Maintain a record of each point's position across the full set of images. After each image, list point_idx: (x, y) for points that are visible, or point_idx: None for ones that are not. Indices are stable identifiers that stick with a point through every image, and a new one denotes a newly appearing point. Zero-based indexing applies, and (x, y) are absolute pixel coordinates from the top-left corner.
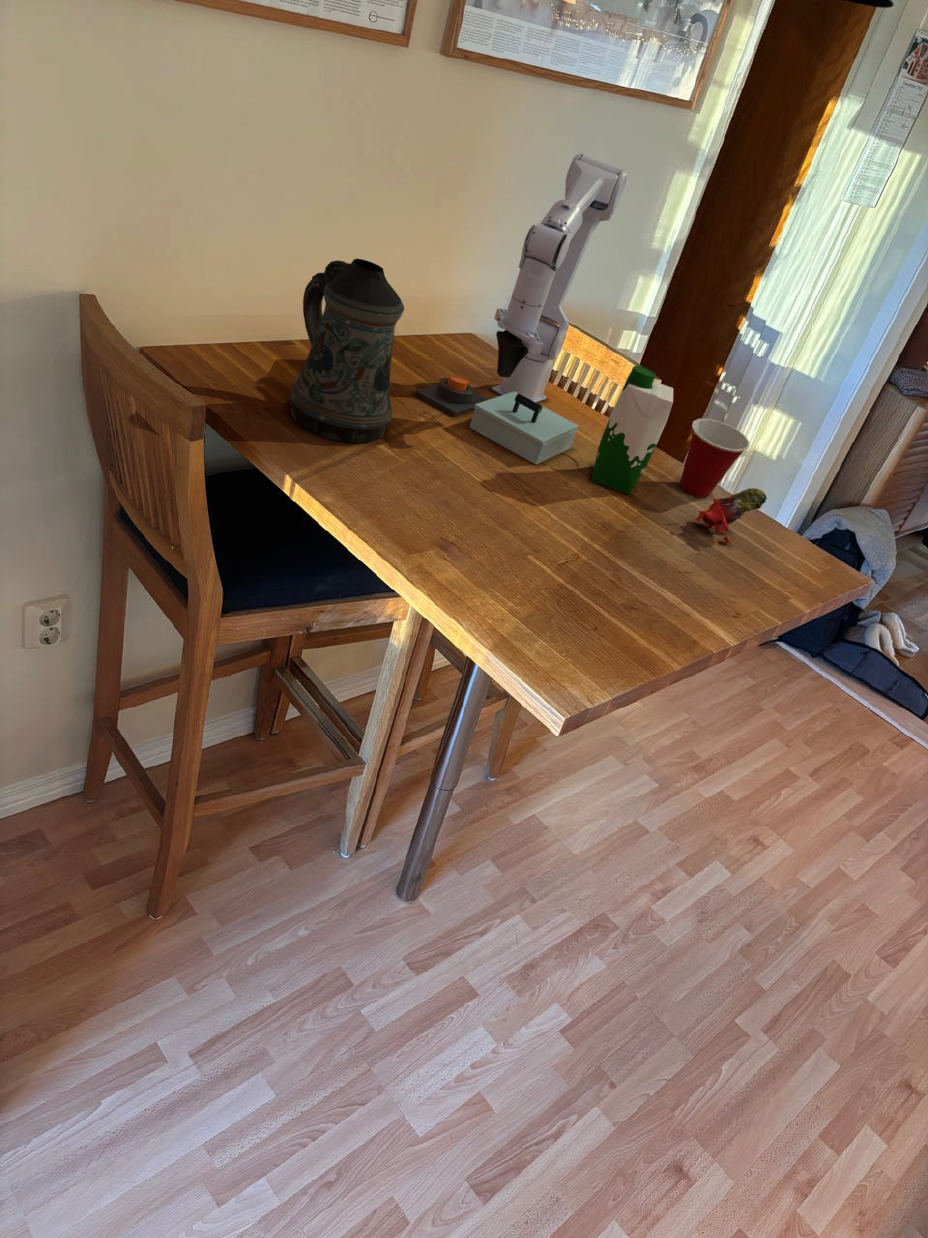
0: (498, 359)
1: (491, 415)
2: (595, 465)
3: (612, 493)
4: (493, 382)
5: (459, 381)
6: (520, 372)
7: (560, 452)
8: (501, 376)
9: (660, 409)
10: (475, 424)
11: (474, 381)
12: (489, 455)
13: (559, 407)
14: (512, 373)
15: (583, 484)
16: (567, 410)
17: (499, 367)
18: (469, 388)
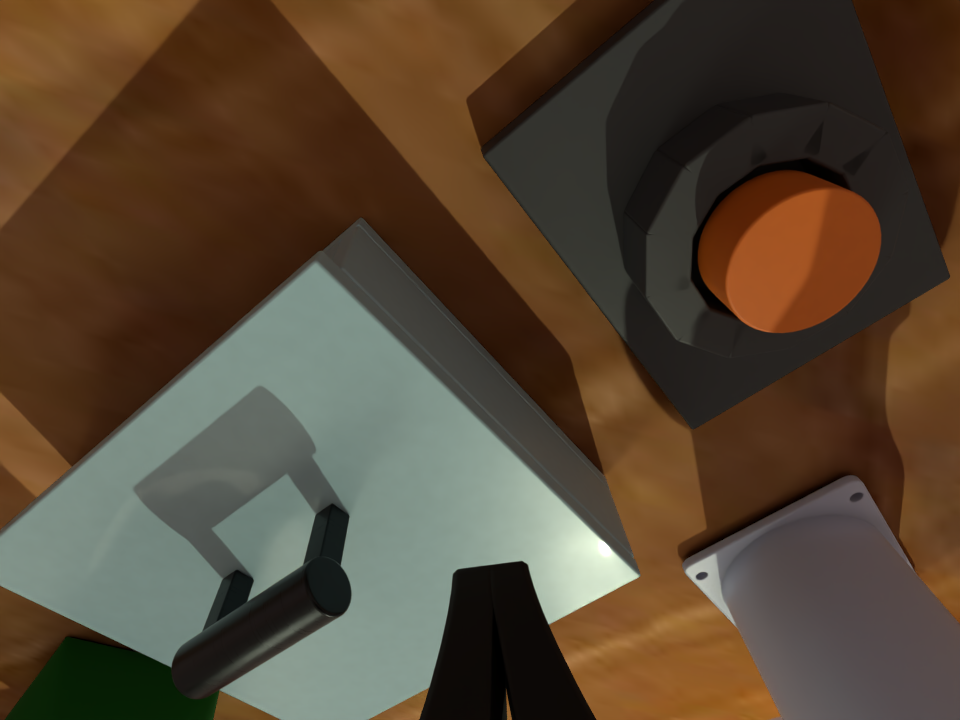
0: (553, 677)
1: (209, 349)
2: (52, 696)
3: (12, 672)
4: (928, 501)
5: (755, 256)
6: (829, 660)
7: None
8: (453, 579)
9: None
10: (331, 251)
11: (950, 416)
12: (15, 243)
13: (700, 672)
14: (855, 616)
15: (13, 603)
16: (679, 688)
17: (484, 623)
18: (734, 330)
